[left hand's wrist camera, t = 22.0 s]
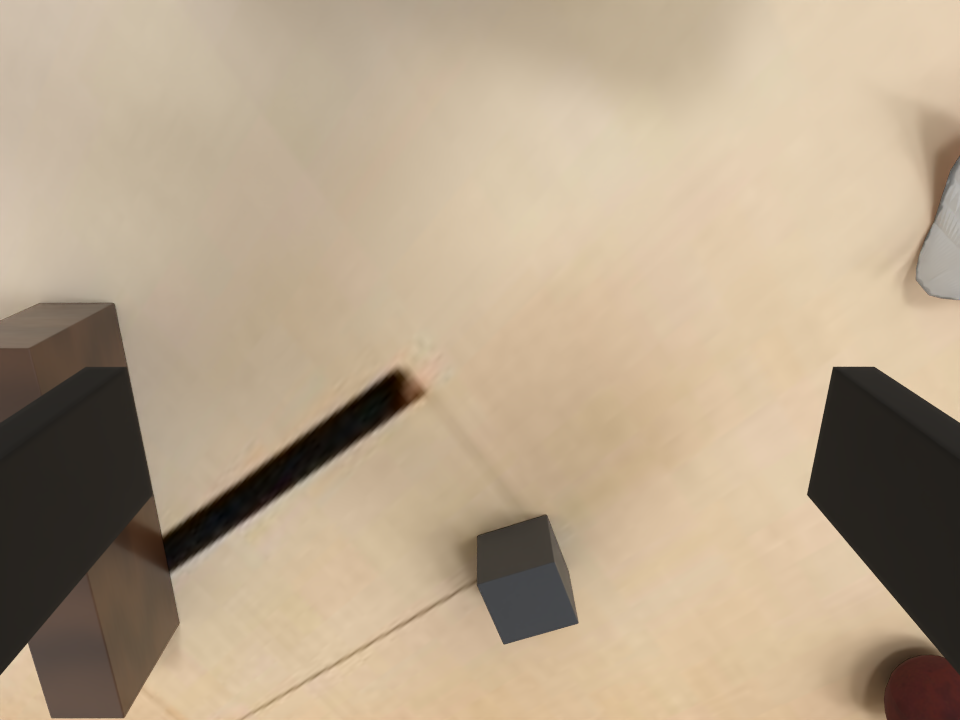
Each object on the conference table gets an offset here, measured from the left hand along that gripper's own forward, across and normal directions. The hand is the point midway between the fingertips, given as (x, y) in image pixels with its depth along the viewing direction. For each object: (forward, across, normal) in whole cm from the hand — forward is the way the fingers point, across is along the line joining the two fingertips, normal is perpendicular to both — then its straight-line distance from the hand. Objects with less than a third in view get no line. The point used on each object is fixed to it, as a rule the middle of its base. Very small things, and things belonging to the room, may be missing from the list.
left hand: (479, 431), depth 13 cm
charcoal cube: (+27, +3, -23) cm, 35 cm away
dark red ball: (+27, +32, -34) cm, 54 cm away
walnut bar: (+27, -24, -17) cm, 40 cm away
